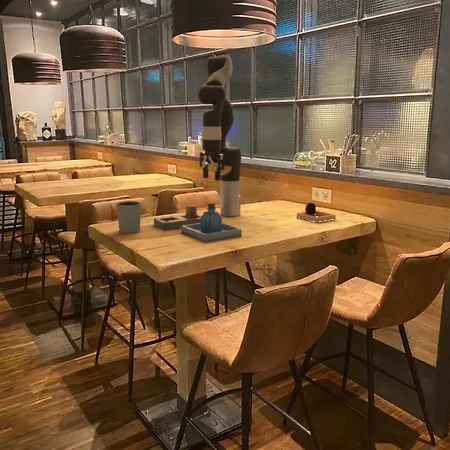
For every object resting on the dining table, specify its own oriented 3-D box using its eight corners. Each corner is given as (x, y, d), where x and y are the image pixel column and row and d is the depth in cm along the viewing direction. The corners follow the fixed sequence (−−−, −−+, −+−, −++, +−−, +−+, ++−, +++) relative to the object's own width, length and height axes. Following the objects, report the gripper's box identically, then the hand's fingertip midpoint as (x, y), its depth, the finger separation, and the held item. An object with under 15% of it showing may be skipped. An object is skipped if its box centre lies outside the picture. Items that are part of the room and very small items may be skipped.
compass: (314, 220, 221) (315, 205, 219) (304, 217, 228) (305, 202, 226) (327, 219, 225) (328, 204, 223) (316, 215, 231) (317, 201, 230)
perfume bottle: (212, 230, 195) (212, 202, 192) (221, 232, 191) (222, 204, 188) (200, 232, 191) (200, 203, 188) (210, 235, 187) (210, 206, 184)
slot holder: (194, 219, 218) (194, 212, 217) (207, 223, 210) (207, 216, 209) (153, 225, 206) (153, 217, 205) (165, 229, 197) (165, 222, 197)
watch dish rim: (315, 215, 233) (315, 210, 232) (335, 219, 222) (335, 214, 222) (296, 218, 225) (297, 213, 225) (316, 223, 215) (316, 217, 214)
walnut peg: (193, 221, 214) (193, 204, 212) (198, 223, 210) (198, 206, 209) (183, 222, 211) (183, 205, 210) (189, 224, 207) (189, 207, 206)
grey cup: (141, 233, 191) (140, 205, 188) (116, 234, 189) (115, 205, 186) (141, 228, 200) (140, 200, 198) (117, 228, 199) (116, 201, 196)
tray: (216, 227, 203) (216, 220, 203) (241, 236, 189) (241, 228, 189) (181, 232, 193) (181, 225, 193) (204, 242, 179) (204, 234, 178)
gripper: (230, 139, 179) (229, 180, 183) (209, 137, 190) (209, 176, 194) (214, 139, 175) (213, 182, 178) (194, 137, 186) (194, 177, 190)
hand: (211, 179), depth 186 cm, fingers open, 8 cm apart
